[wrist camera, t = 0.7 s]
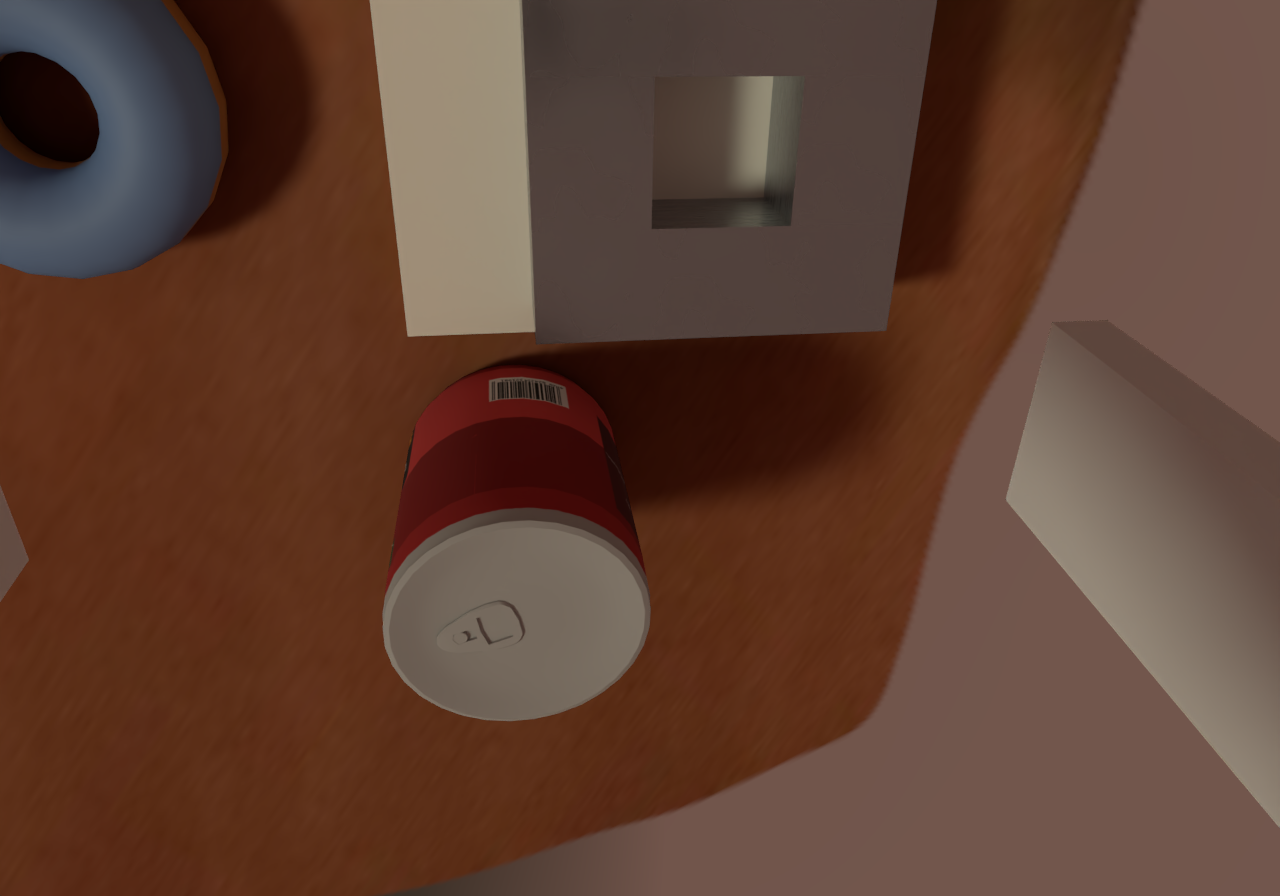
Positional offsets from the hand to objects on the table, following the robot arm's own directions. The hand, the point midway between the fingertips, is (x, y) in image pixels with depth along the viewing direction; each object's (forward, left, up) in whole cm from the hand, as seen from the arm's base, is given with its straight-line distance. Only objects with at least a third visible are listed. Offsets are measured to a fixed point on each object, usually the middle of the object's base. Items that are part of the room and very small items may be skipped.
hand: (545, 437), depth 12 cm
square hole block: (+1, +6, -22) cm, 23 cm away
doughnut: (-1, -14, -23) cm, 27 cm away
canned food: (+13, -1, -23) cm, 26 cm away
